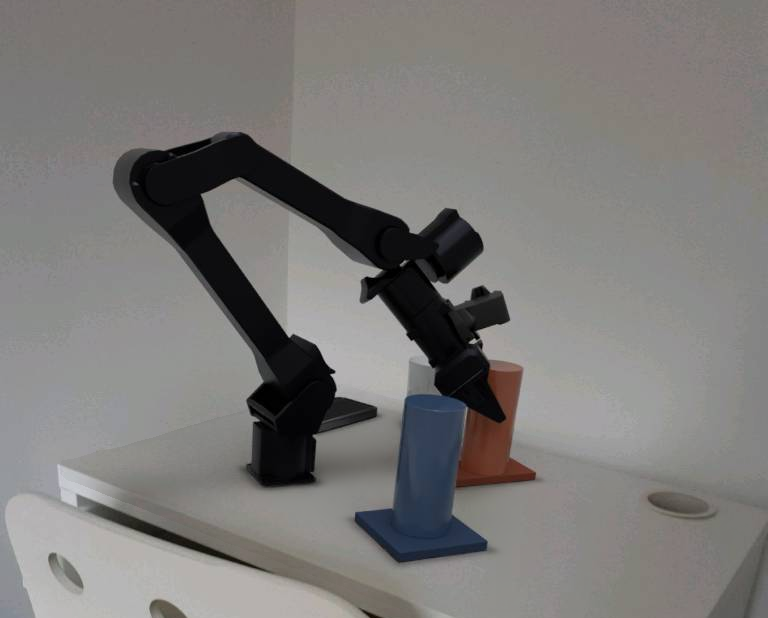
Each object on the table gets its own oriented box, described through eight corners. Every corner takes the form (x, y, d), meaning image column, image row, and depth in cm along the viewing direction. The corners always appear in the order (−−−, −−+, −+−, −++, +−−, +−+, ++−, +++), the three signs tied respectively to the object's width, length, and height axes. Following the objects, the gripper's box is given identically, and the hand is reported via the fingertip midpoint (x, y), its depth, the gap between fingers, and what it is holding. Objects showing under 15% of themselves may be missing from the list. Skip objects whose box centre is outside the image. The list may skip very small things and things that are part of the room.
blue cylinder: (408, 541, 79) (423, 412, 74) (380, 517, 83) (393, 394, 79) (460, 535, 81) (478, 410, 77) (430, 511, 86) (446, 393, 81)
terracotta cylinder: (476, 477, 98) (492, 371, 93) (450, 461, 102) (463, 359, 98) (516, 474, 100) (534, 370, 96) (489, 458, 105) (504, 359, 100)
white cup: (456, 438, 115) (466, 369, 111) (401, 433, 115) (409, 363, 111) (453, 423, 122) (462, 357, 119) (401, 418, 122) (408, 352, 119)
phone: (380, 407, 122) (315, 425, 110) (379, 415, 122) (314, 433, 111) (339, 396, 126) (272, 411, 114) (339, 403, 126) (272, 419, 115)
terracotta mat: (454, 487, 97) (455, 479, 96) (429, 470, 102) (430, 462, 101) (535, 479, 102) (536, 472, 102) (508, 463, 107) (509, 456, 107)
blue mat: (398, 562, 76) (399, 552, 76) (354, 520, 85) (355, 511, 84) (486, 550, 81) (488, 541, 81) (436, 511, 89) (437, 503, 89)
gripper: (480, 272, 84) (567, 388, 88) (471, 256, 101) (544, 353, 105) (396, 340, 87) (484, 449, 91) (401, 313, 104) (475, 405, 108)
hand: (499, 410), depth 99 cm, fingers open, 9 cm apart
